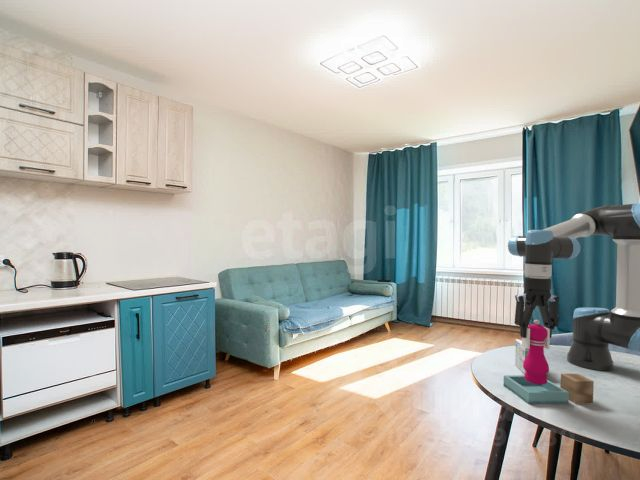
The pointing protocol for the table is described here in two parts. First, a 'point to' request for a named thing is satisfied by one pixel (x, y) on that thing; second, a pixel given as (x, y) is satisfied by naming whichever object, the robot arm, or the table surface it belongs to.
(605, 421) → the table surface
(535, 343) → the pepper mill
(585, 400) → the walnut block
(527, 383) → the tray
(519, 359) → the light bulb box
